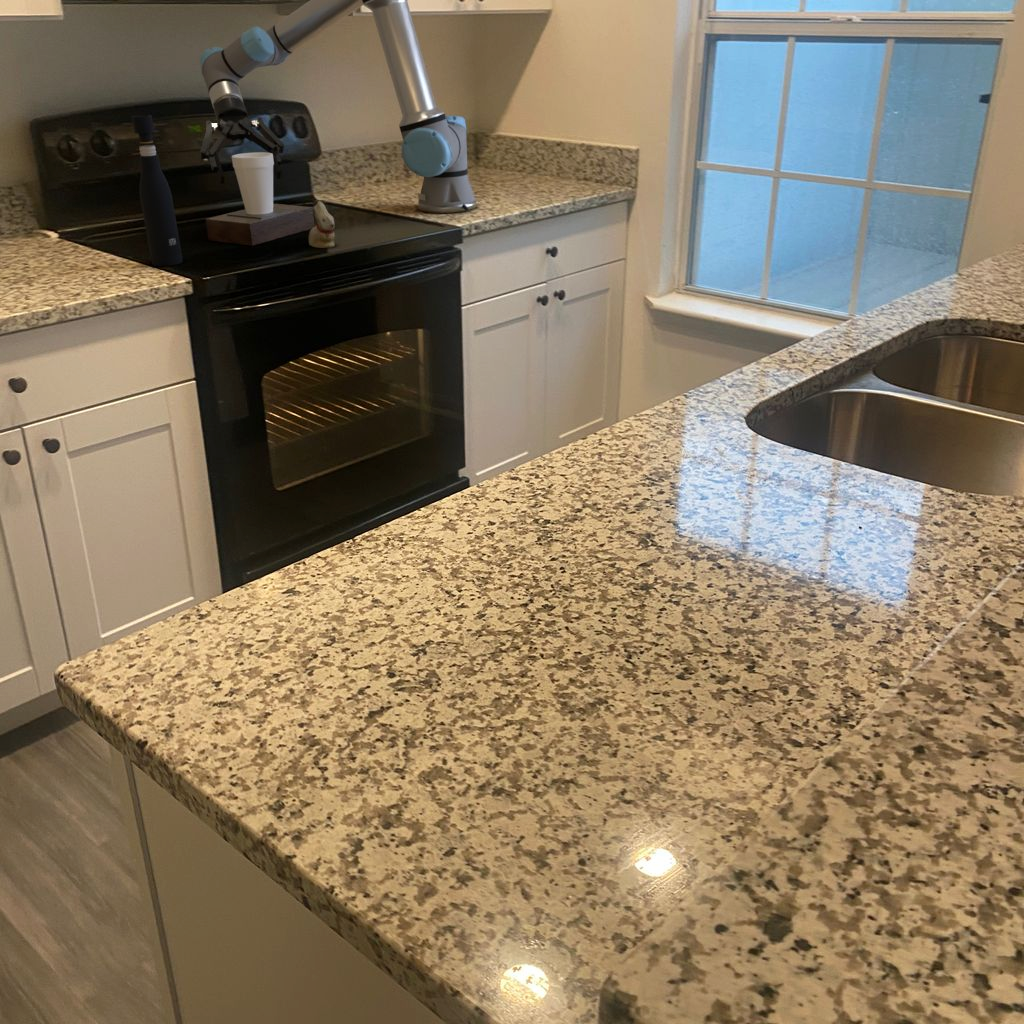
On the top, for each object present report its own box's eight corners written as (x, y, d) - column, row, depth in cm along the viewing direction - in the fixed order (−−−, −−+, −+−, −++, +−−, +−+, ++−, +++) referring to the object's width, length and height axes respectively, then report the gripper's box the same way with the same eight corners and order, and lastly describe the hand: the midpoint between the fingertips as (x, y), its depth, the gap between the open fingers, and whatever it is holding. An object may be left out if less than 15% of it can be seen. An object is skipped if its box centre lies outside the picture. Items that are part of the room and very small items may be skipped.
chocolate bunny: (314, 249, 231) (309, 204, 226) (307, 243, 237) (302, 198, 233) (338, 247, 232) (333, 202, 228) (330, 240, 239) (326, 196, 235)
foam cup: (284, 208, 250) (277, 152, 244) (273, 215, 241) (265, 157, 235) (246, 208, 250) (239, 152, 245) (234, 215, 242) (225, 158, 236)
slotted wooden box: (314, 227, 253) (312, 206, 251) (252, 245, 237) (249, 222, 234) (272, 223, 260) (269, 202, 257) (208, 240, 243) (205, 218, 241)
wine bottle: (158, 259, 226) (131, 114, 212) (186, 259, 226) (162, 113, 212) (148, 266, 220) (120, 117, 207) (177, 266, 220) (151, 117, 206)
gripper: (277, 113, 260) (300, 182, 255) (176, 120, 251) (198, 192, 246) (280, 92, 254) (303, 163, 248) (176, 98, 244) (198, 172, 239)
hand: (251, 177), depth 247 cm, fingers open, 13 cm apart
